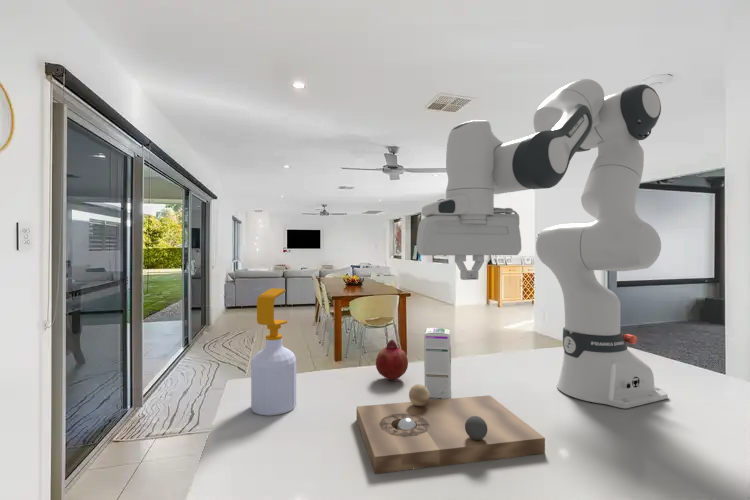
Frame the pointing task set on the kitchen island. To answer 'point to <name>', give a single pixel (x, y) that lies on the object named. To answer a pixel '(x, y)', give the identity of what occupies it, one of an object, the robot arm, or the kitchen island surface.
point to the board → (443, 434)
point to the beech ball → (419, 395)
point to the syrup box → (437, 362)
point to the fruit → (391, 361)
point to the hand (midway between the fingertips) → (469, 279)
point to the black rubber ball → (476, 427)
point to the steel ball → (406, 424)
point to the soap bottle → (272, 364)
